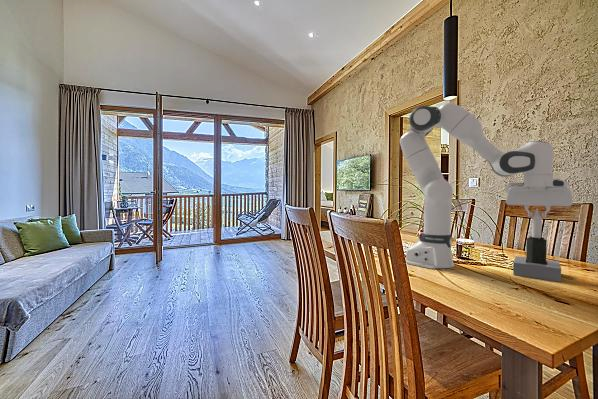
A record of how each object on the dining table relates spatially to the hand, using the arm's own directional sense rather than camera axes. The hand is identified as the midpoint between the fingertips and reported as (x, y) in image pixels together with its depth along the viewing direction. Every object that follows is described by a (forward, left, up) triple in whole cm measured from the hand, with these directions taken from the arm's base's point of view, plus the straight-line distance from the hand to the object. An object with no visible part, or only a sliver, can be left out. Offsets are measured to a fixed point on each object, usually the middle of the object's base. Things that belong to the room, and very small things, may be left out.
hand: (537, 217), depth 113 cm
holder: (0, 0, -23) cm, 23 cm away
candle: (0, 0, -22) cm, 22 cm away
